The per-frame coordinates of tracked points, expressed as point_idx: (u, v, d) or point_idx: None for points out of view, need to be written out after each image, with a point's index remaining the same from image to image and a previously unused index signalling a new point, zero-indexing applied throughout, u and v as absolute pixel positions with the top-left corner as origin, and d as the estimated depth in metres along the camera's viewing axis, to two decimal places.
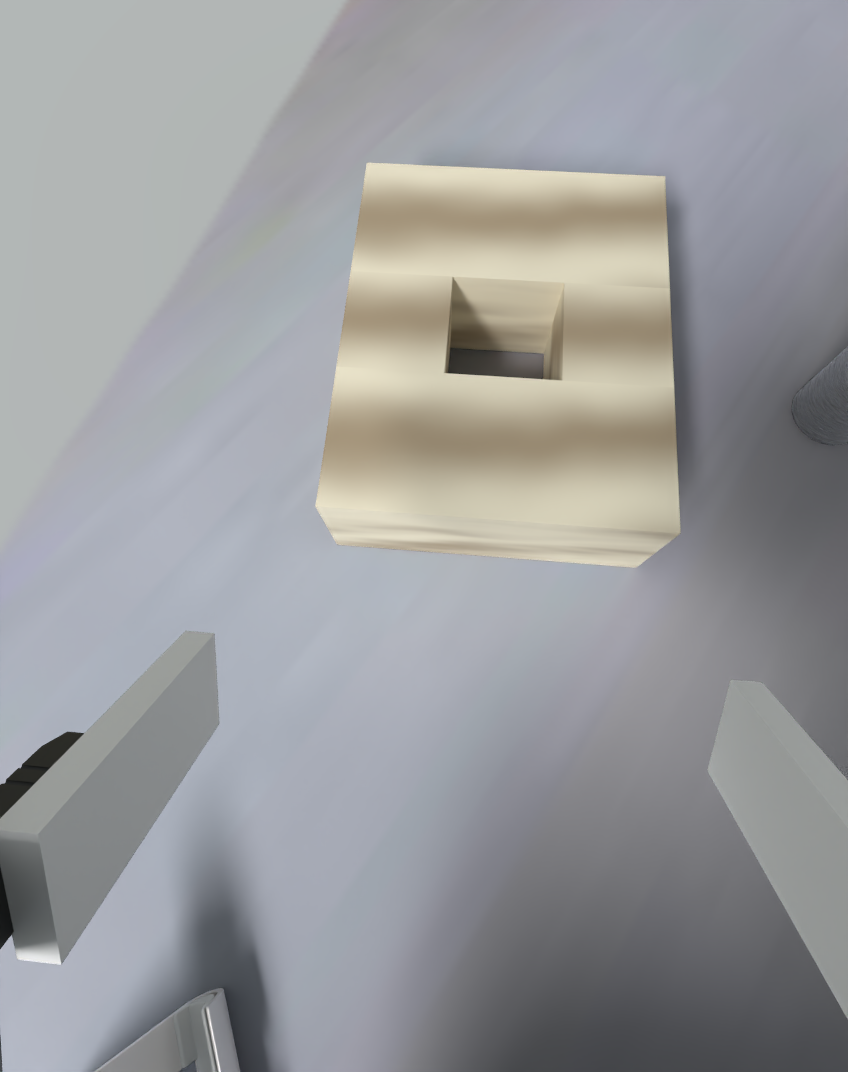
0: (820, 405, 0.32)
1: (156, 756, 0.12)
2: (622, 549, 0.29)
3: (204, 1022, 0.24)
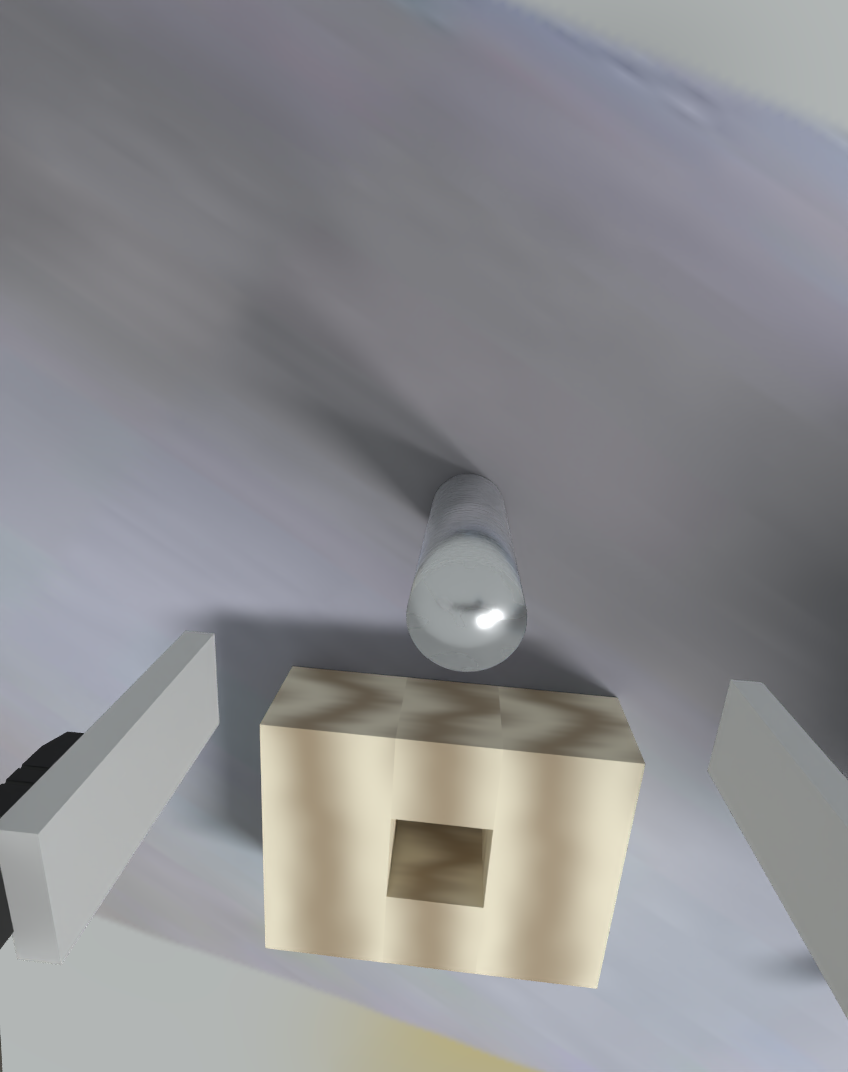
0: None
1: (156, 756, 0.12)
2: None
3: None
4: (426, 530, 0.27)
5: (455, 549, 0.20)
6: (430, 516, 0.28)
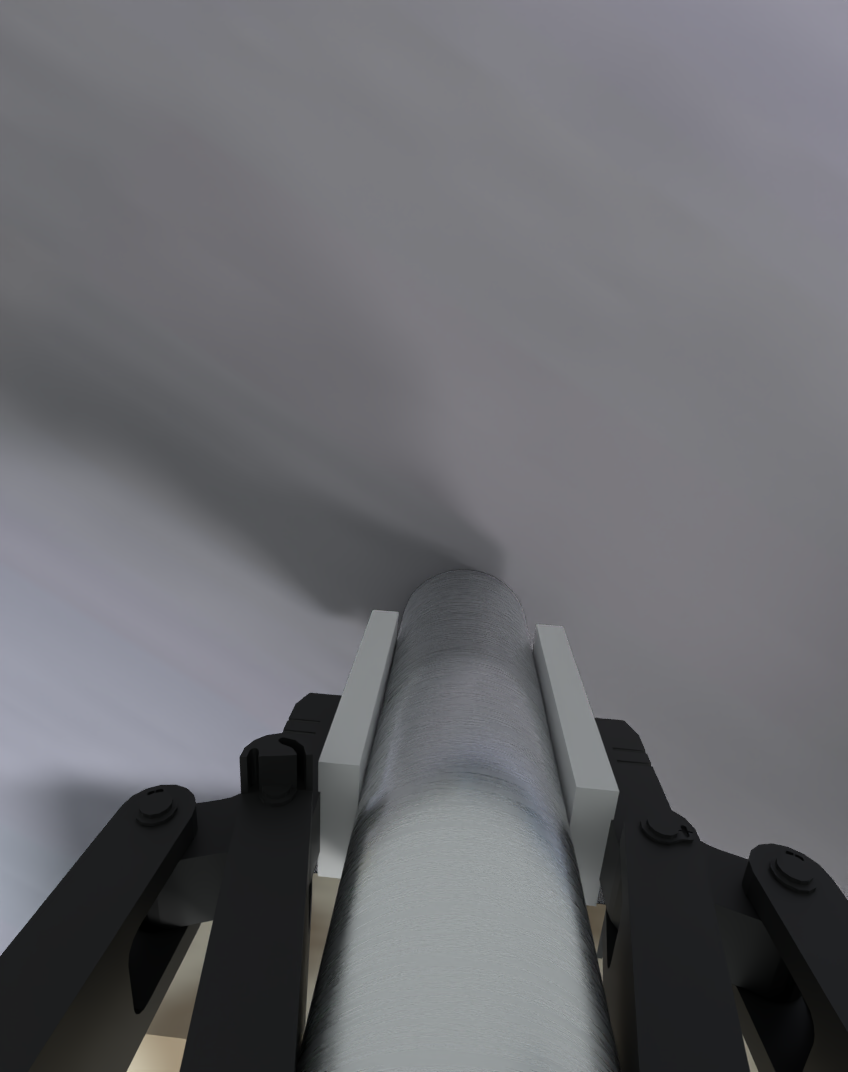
0: None
1: None
2: None
3: None
4: (376, 731, 0.13)
5: (423, 985, 0.07)
6: (389, 681, 0.14)
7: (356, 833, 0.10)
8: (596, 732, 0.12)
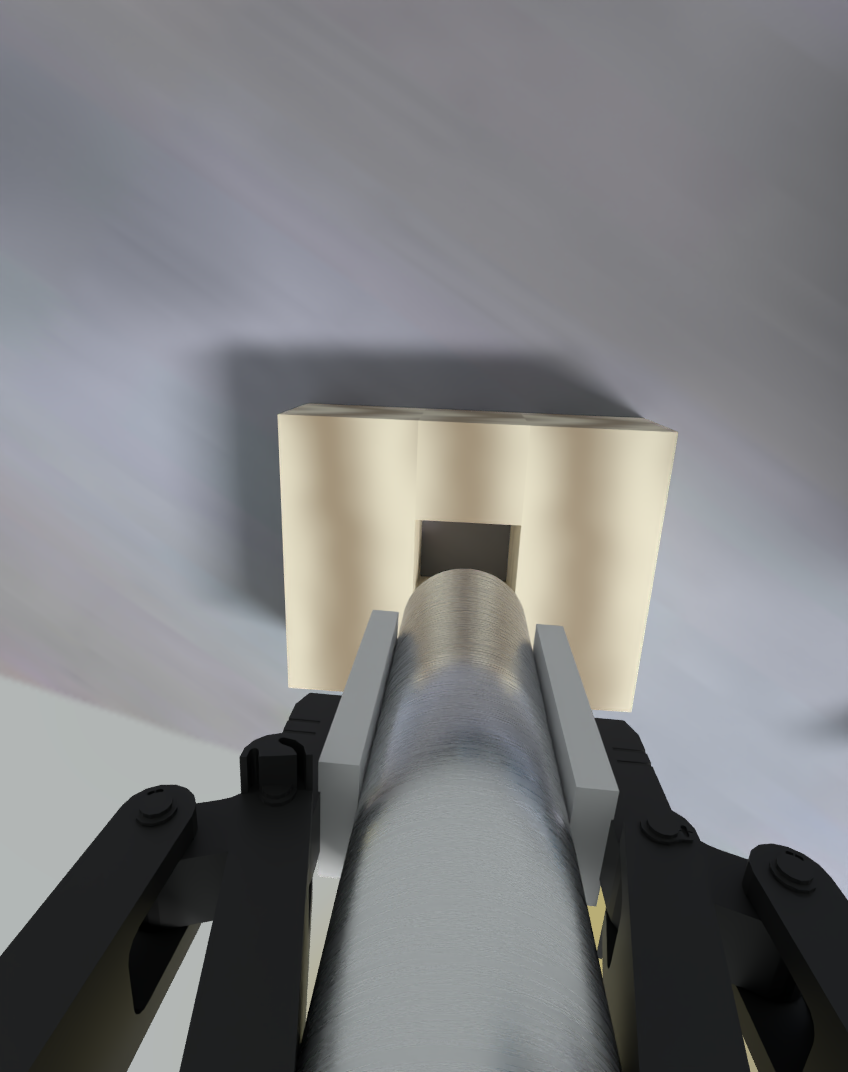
0: None
1: None
2: None
3: None
4: (376, 729, 0.13)
5: (423, 981, 0.07)
6: (389, 680, 0.14)
7: (356, 831, 0.10)
8: (596, 732, 0.12)
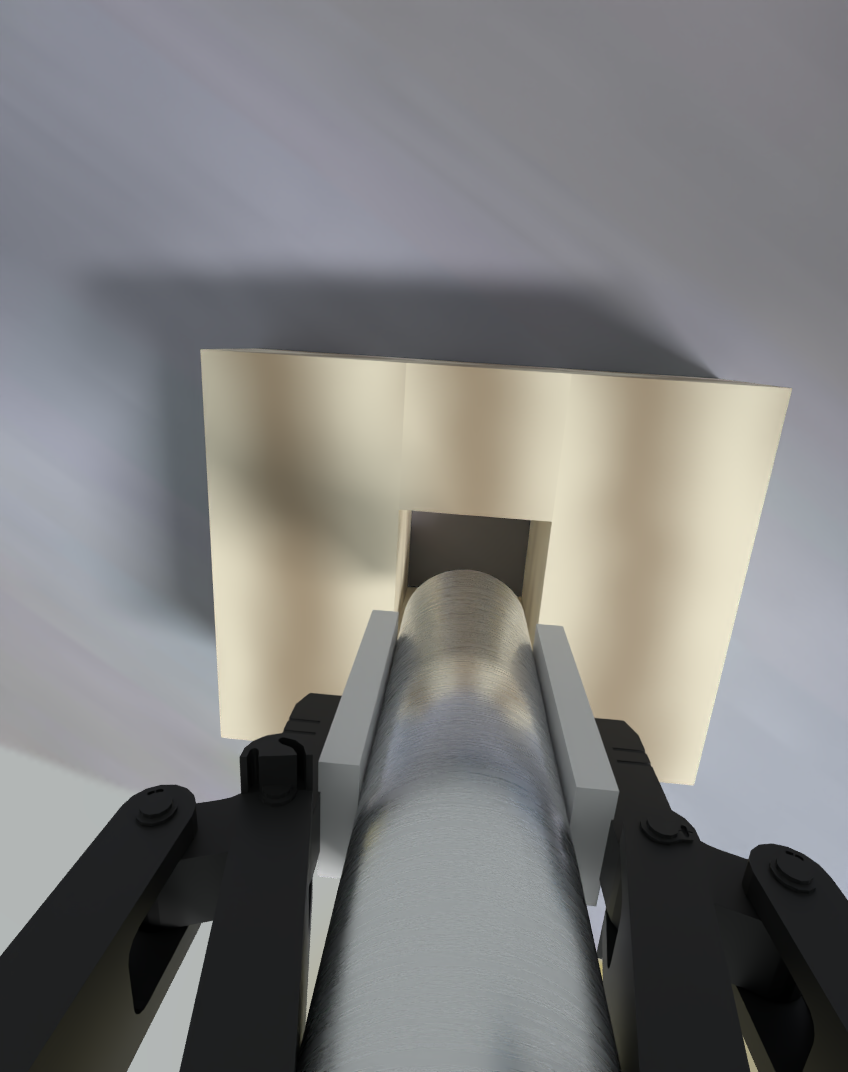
0: None
1: None
2: None
3: None
4: (376, 731, 0.13)
5: (423, 984, 0.07)
6: (389, 681, 0.14)
7: (356, 833, 0.10)
8: (596, 732, 0.12)
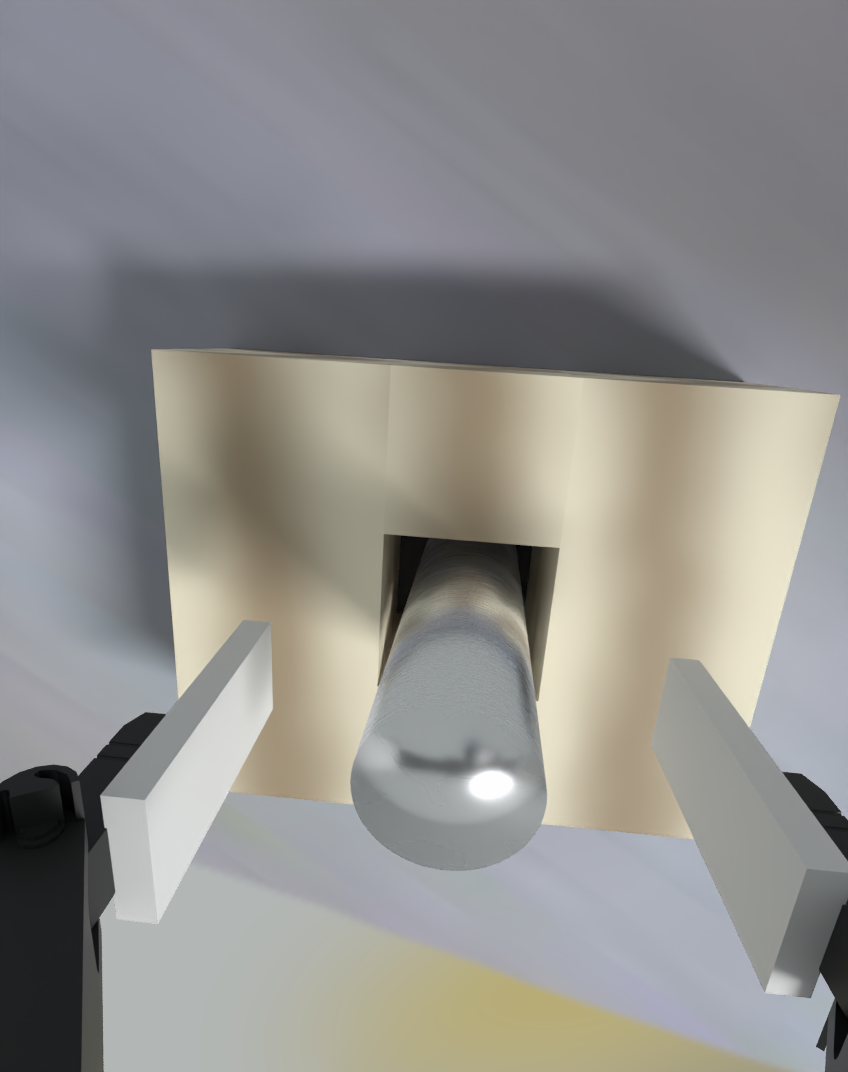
0: None
1: (227, 736, 0.13)
2: None
3: None
4: None
5: (432, 673, 0.13)
6: (414, 580, 0.21)
7: (394, 644, 0.16)
8: (796, 794, 0.11)
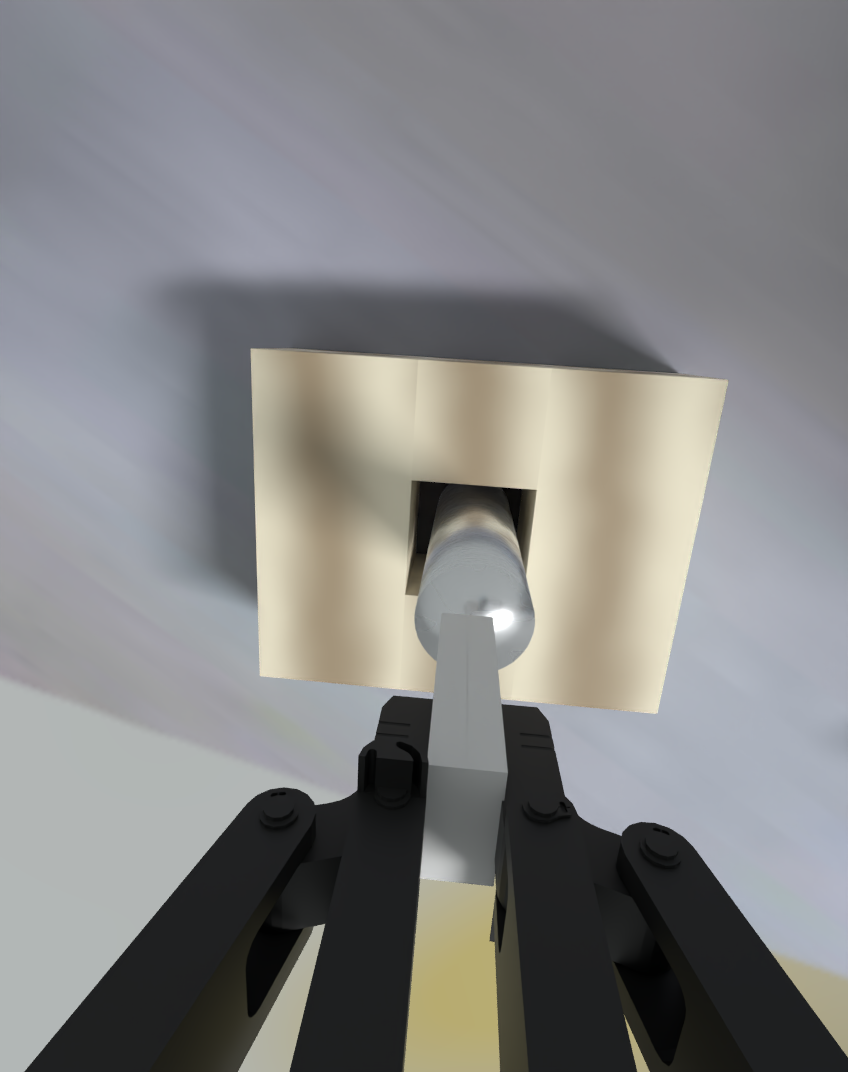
0: None
1: None
2: None
3: None
4: (432, 532, 0.27)
5: (463, 552, 0.20)
6: (436, 518, 0.28)
7: (430, 549, 0.24)
8: (500, 717, 0.12)
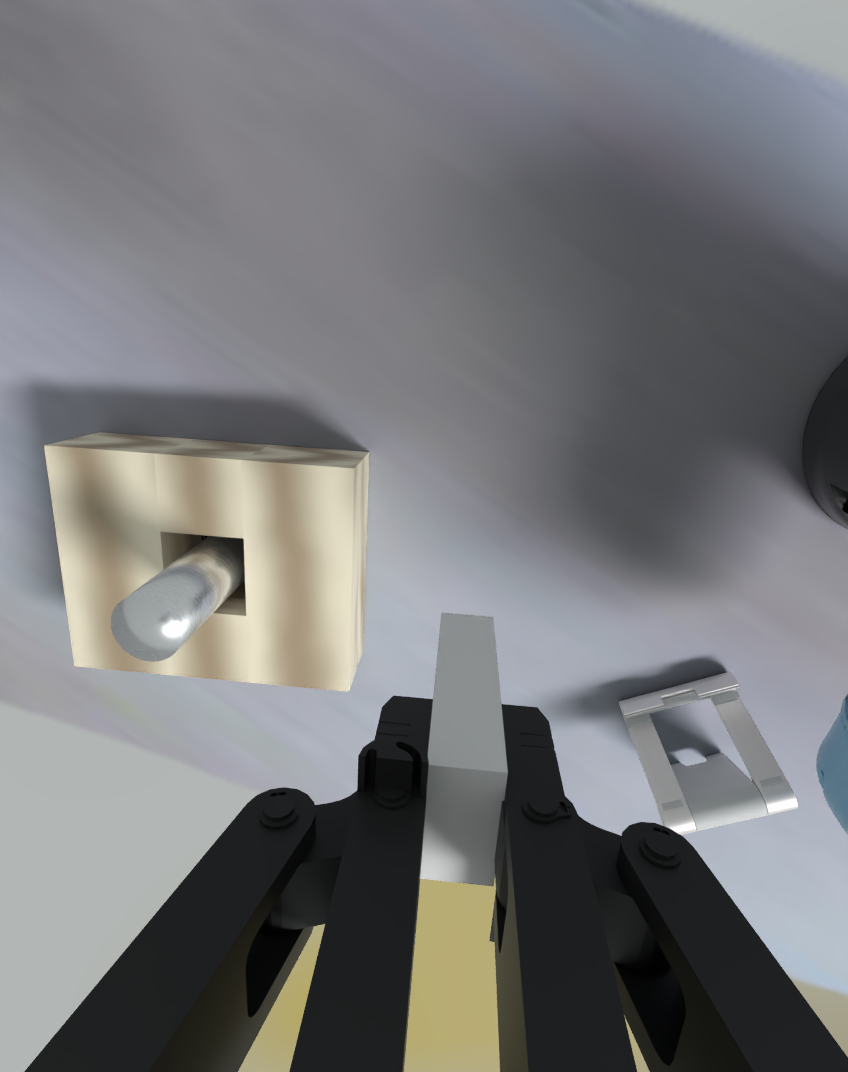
0: None
1: None
2: (361, 482, 0.40)
3: (631, 715, 0.45)
4: None
5: (146, 586, 0.33)
6: None
7: None
8: (499, 717, 0.12)
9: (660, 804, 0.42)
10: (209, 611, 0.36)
